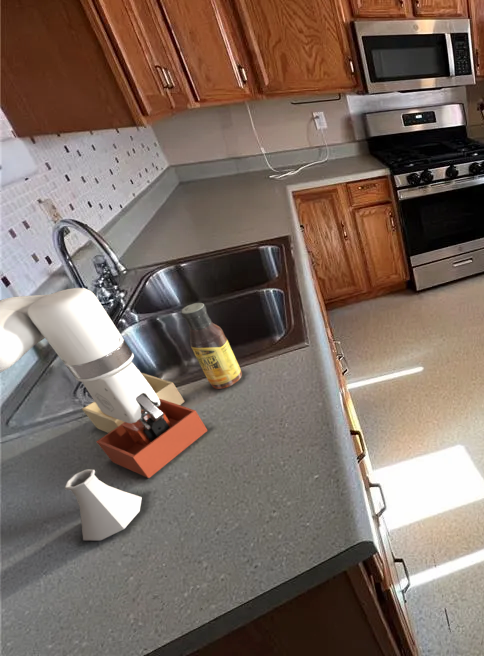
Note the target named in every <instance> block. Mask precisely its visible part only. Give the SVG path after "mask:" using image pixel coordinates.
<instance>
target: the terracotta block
mask: <svg viewBox="0 0 484 656" xmlns="http://www.w3.org/2000/svg"><path fill="white" fill-rule="evenodd" d="M162 413H163V412H162ZM163 414H164V413H163ZM163 417H164V419H165V421H166V422H167V424H168V425H169V427H170V428H171V427H172V424H171V423H170V421H169V420H168V418H167V417H166V415H165V414H164V415H163ZM143 418H144V419H145V420H146V422H147V419H148V418H150V416H149V414H147V415H146V416H144V417H143ZM122 426H123V427H124V429H125V430H126V432H127V433H128V434H129V436H130V437H131V438H132V440H133V441H134V442H135V443H137V444H140V445H142V446H145V447H146V446H147V445H148V444H150V443H151V441H150V440H149V439H148V437H147V436H146V434H145V433H144V432H143V430H144V429H145V428H144V427H143V426H142V425H141V424H140V423H139V421H138V420H137V422H135V423H125V424H124V425H122Z"/></svg>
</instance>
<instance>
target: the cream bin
mask: <svg viewBox="0 0 484 656" xmlns="http://www.w3.org/2000/svg"><path fill="white" fill-rule="evenodd" d="M140 373H141V374H142V375H143V376H144V378H145V379H146V380H147V382H148V383H149V384H150V386H151V387H152V389H153V390H154V392H155V393H156V395H157V396H158V398H159V399H163V400H166V401H169V402H172V403H175V404H178V405H181V406H182V404H184V403H185V399H184V397H183V396H182V395H181V393H180V392H179V389H178V388H177V387H176V385H175V384H174V382H173V381H170V380H167V379H163V378H161V377H157V376H153V375H150V374H147V373H145V372H140ZM81 410H82V411H83V413H84V414H85V415H86V416H87V418H88V419H89V420H90V421H91V422H92V424H93V425H94V427H95V428H96V429H98V430H99V431H102V432H105V433H107V434H108V433H109V432H111V431H112V430H114V429H115V428H117V427H118V426H120V425H121V424H123V423H124V421H121V420H119V419H116V418H114V417H111V416H109V415H106V414H105V413H103V412H102V411H101V410H100V409H99V407H98V406H97V404H96V403H95V401H94V400H93V401H92V402H91V403H89V404H88V405H86V406H84V407H82V408H81ZM142 410H143V409H142Z"/></svg>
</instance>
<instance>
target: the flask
mask: <svg viewBox="0 0 484 656" xmlns="http://www.w3.org/2000/svg"><path fill="white" fill-rule="evenodd" d="M95 474H96V471H95V469H84V470H82V471H79V472H77V473H75V474H73V475H72V476H71V477H70V478H69V479H68V480H67V481H66V482H65V486H64V489H65V490H66V491H71V493H72V494H73V495H74V496H75V498H76V501H77V503H78V507H79V513H80V520H81V530H82V531H81V532H82V540H83V541H103V540H105V539H107V538H109V537H111V536H112V535H115V534H117V533H119V532H121V531H123V530H125V529H126V528H127V526H128V525H129V524H131V522H132V521H133V520H134V518H135V517H136V516H137V515H138V514H139V513H140V511H141V506H142V500H143V499H142V498H143V497H142V496H139V495H137V494H133V493H130V492H127V491H124V490H121V489H118V488H116V487H113V486H110V485H108V484H106V483H104V482H103V481H101V480H99V478H98V477H97V476H96V475H95Z"/></svg>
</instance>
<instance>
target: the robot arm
mask: <svg viewBox="0 0 484 656" xmlns="http://www.w3.org/2000/svg"><path fill="white" fill-rule="evenodd" d="M43 340H46V342H47V343H48V344H49V346H50V347H51V348H52V349H53V351H54V352H55V353H56V355H57V356H58V357H59V358H60V360H61V361H62V362H63V364H64V365H65V367H66V368H67V369H68V370H69V372H70V373H71V375H72V376H73V378H75V380H76V381H77V382H81V383H82V384H83V386H84V387H85V389H86V390H87V392H88V394H89V395H90V397H91V398H92V400H93V402H94V401H95V403H96V404H97V406H98V407H99V409H100V410H101V411H102V412H103V413H105V414H106V415H109V416H111V417H114V418H116V419H119V420H121V421H124V422H126V423H135V422H137V420H138V421H139V423H140V424H141V425H142V426H143V427H144V428H145V429H144V430H143V432H144V433H145V434H146V436H147V437H148V439H149V440H150V441H151V442H152V441H154V440H155V439H156V438H158V437H159V436H160V435H162V434H163V433H164V432H166V431H167V430H168V429H170V427H169V425H168V424H167V422H166V421H165V419H164V417H163V415H164V414H163V413H162V412H161V411H160V410H159V409H158V408H157V407H158V406H159V405H160V400H159V398H158V396H157V395H156V393H155V392H154V390H153V389H152V387H151V386H150V384H149V383H148V382H147V380H146V379H145V378H144V376H143V375H142V374H141V373H142V372H141V371H140V369H138V367H136V365H135V364H134V362H132V361H133V359H134V358H135V355H134V352H133V351H132V349H131V348H130V347H129V345H128V343H127V342H126V340H125V339H124V337H123V336H122V333H120V331H119V329H118V328H117V327H116V325H115V324H114V322H113V320H112V319H111V317H110V315H109V314H108V313H107V311H106V310H105V308H104V306H103V305H102V303H101V302H100V300H99V298H98V297H97V295H96V294H94V292H93V291H91V290H89V289H87V288H84V287H83V288H82V287H73V288H67V289H63V290H58V291H56V292H53V293H49V294H40V295H39V294H38V295H22V296H20V295H19V296H11V297H7V298H2V299H0V373H2V372H5V371H7V370H8V369H10V368H11V367H12V366H13V365H15V363H17V362H19V360H21V359H22V358H23V356H25V355H26V354H27V353H28V352H29V351H30V350H31V349H32V348H33V347H34V346H35V345H37V344H38V343H40V342H41V341H43ZM142 409H143V411H142ZM141 411H142V412H141ZM147 414H149V416H150V418H148V419H147V422H146V420H145V419H144V418H143V417H144V416H146V415H147Z"/></svg>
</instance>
